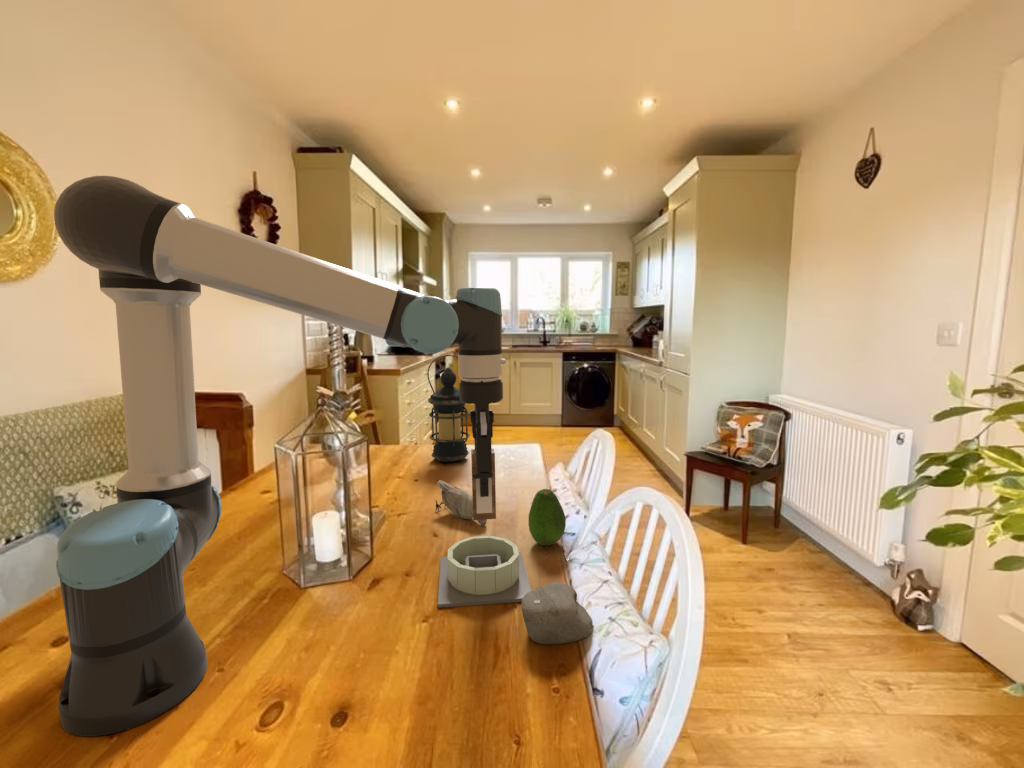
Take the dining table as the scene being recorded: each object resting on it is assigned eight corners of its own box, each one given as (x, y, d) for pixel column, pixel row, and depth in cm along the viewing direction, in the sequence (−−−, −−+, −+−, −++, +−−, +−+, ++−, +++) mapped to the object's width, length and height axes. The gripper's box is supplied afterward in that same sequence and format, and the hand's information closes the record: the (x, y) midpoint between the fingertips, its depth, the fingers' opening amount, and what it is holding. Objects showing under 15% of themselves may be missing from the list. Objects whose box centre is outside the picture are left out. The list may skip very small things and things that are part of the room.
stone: (603, 647, 70) (572, 592, 69) (549, 676, 70) (517, 621, 69) (589, 610, 79) (561, 560, 78) (540, 636, 79) (512, 587, 78)
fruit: (520, 544, 102) (520, 489, 100) (544, 532, 108) (544, 480, 106) (549, 557, 97) (550, 499, 95) (573, 543, 102) (573, 488, 101)
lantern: (423, 464, 157) (419, 356, 152) (436, 453, 169) (433, 353, 165) (466, 466, 154) (464, 357, 149) (475, 455, 167) (474, 353, 162)
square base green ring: (533, 600, 82) (533, 572, 81) (437, 607, 80) (436, 578, 79) (521, 554, 98) (521, 530, 97) (440, 559, 96) (440, 534, 95)
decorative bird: (476, 531, 109) (475, 499, 108) (431, 512, 119) (430, 483, 118) (493, 523, 113) (493, 493, 112) (448, 505, 123) (447, 477, 122)
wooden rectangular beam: (496, 518, 86) (494, 453, 84) (473, 520, 86) (471, 454, 84) (494, 512, 89) (493, 448, 87) (472, 513, 88) (471, 449, 87)
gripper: (507, 384, 76) (509, 526, 80) (498, 372, 92) (500, 490, 95) (459, 386, 75) (463, 528, 79) (458, 373, 91) (462, 493, 94)
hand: (483, 507), depth 87 cm, fingers closed on wooden rectangular beam, 3 cm apart
